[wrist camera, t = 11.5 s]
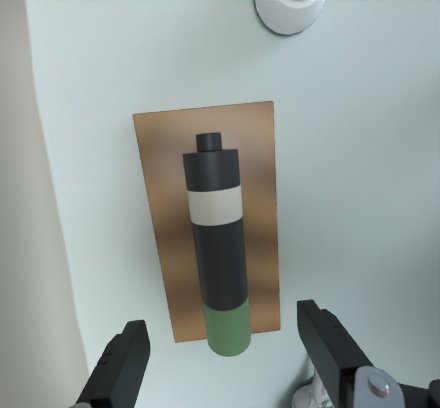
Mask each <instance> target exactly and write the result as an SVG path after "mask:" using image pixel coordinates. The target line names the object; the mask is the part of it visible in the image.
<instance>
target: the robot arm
mask: <svg viewBox="0 0 440 408" xmlns="http://www.w3.org/2000/svg"><path fill="white" fill-rule="evenodd" d="M297 326H298V331H299V335H300V338H301V340H302V342H303V344H304V346H305V348H306V350H307V352H308V354H309V357H310V359H311V361H312V363H313V365H314V367H315V369H316V371H317V373H318V375H319V377H320V379H321V381H322V383H323V385H324V387H325V389H326V391H327V394H328V396H329V398H330V400H331V402H332V404H333V406H334V408H440V379H437V380H433V381H432V382H430V384H429V389H424V388H419V387H414V386H409V385H404V384H401V383H398V382H396V381H395V380H394V379H393V378H392V377H391V376H390V375H389V374H387V373H386V372H384V371H383V370H381V369H378V368H376V367H374V366H373V364H372V363H371V362H370V360H369V359H368V358H367V356H366V355H365V354H364V353H363V351H362V350H361V349H360V347H359V346H358V345H357V343H356V342H355V341H354V340H353V338H352V337H351V336H350V335H349V334H348V332H347V330H346V329H345V328H344V327H343V326H342V324H341V323H340V321H339V320H338V319H337V317H336V316H335V315H333V314H332V313H331V312H329V311H328V310H326V309H321V310H320V309H319V307H318V306H317V305H316V303H315V302H314V300H312V299H310V300H302V301H298V302H297ZM149 356H150V341H149V337H148V332H147V328H146V324H145V321H144V320H136V321H129V322H127V324H126V326H125V328H124V330H123V332H122V334H117V335H116V336H115V337H114V338H113V339H112V340H111V341H110V342H109V343H108V344H107V346H106V348H105V350H104V352H103V354H102V357H100V359H99V361H98V363H97V366H96V367H95V368H94V370H93V372H92V374H91V376H90V378H89V380H88V382H87V384H86V385H85V387H84V389H83V391H82V393H81V395H80V396H79V398H78V400H77V402H76V404H75V405H73V406H71V407H70V408H134V406H135V403H136V400H137V396H138V393H139V390H140V386H141V383H142V380H143V376H144V373H145V370H146V366H147V363H148V360H149Z"/></svg>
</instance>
